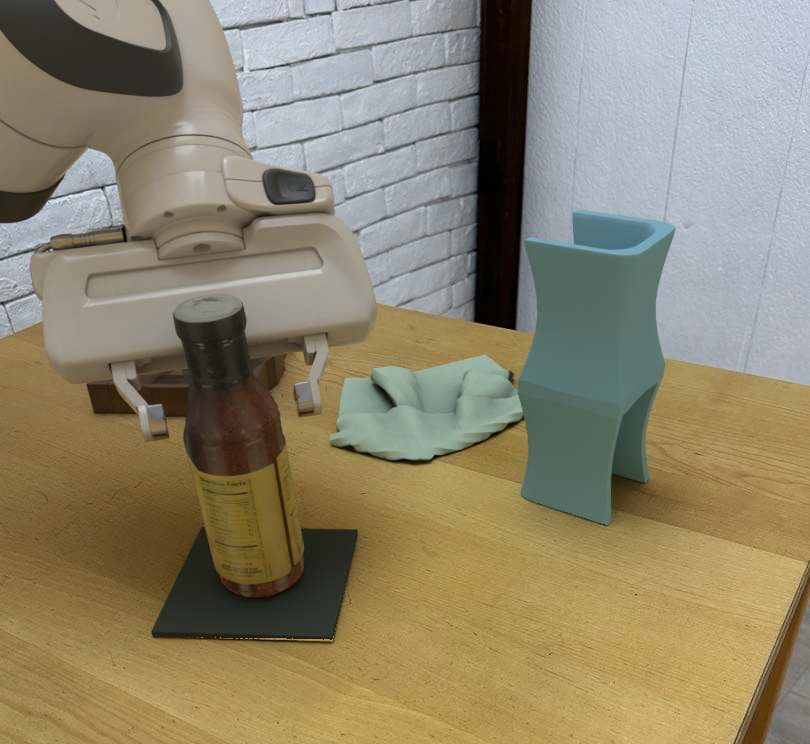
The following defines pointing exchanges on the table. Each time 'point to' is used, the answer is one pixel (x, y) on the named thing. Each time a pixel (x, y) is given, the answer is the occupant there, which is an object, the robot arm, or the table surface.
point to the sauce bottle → (237, 453)
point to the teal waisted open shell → (592, 360)
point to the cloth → (426, 409)
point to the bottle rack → (172, 388)
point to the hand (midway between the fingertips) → (234, 425)
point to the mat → (267, 616)
